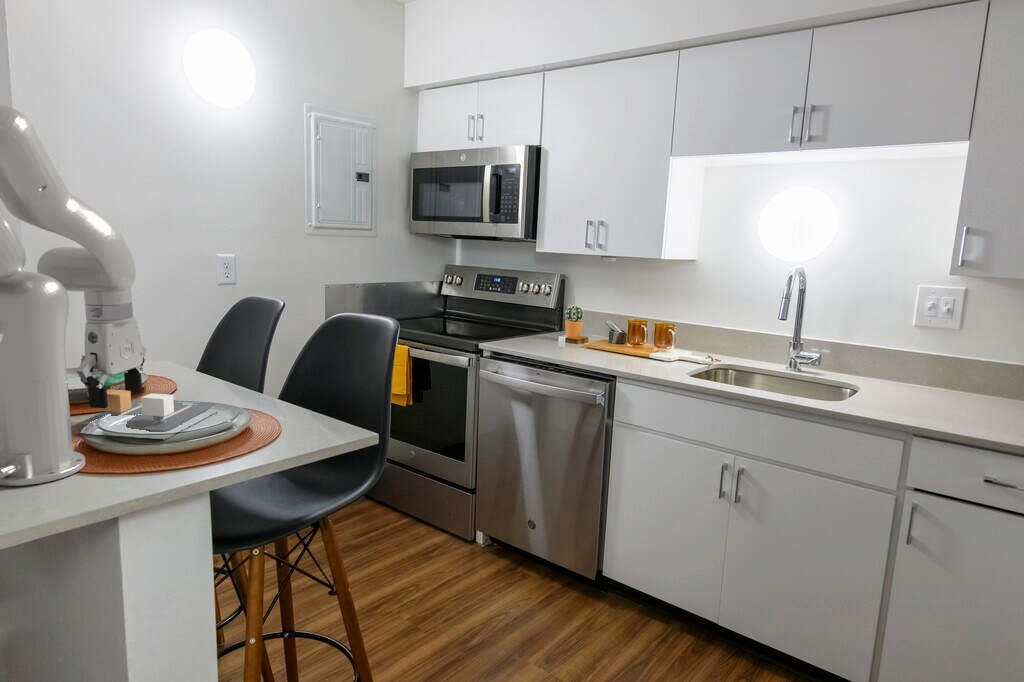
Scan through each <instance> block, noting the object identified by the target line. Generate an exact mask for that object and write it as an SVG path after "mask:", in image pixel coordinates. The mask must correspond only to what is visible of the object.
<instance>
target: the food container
mask: <svg viewBox="0 0 1024 682" xmlns="http://www.w3.org/2000/svg"><path fill="white" fill-rule="evenodd" d="M84 360H85V355H81V358H80V365H81V364H82V363H83V361H84ZM125 372H127V371H125ZM125 372H123V373H120V374H117V375H114V376H109V375H108V376H107V379H106V381H105V383H104V386H103V387H106V390H108V389H112V390H125V379H124V373H125ZM99 377H100V376H96V377H95V379H97V380H98V379H99ZM85 388H86V393H87V400H88V401H89V394H88V388H87V387H85Z"/></svg>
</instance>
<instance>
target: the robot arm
mask: <svg viewBox="0 0 1024 682" xmlns="http://www.w3.org/2000/svg"><path fill="white" fill-rule="evenodd" d="M0 200H1V202H2V203H3V205H4V206H5V208H6V209H7V211H8V212H9V213H10V214H11V216H13V217H15V218H17V219H18V220H20V221H22V222H25V223H26V224H29V225H31V226H33V227H35V228H39V229H41V230H45V231H47V232H50V233H53V234H56V235H59V236H61V237H64V238H67V239H68V240H71V241H73V242H75V243H76V244H78V245H80V246H82V247H71V246H68V247H67V246H61V247H54V248H51V249H48V250H46V251H45V252H44V253H43V254H41V255H40V257H39V259H38V261H37V264H36V265H37V266H36V271H37V272H33V271H23V270H22V269H23V268H24V267H25V265H26V261H27V260H26V259H27V258H26V257H27V255H26V251H25V247H24V244H23V242H22V240H21V239H20V237H19V236H18V234H17V232H16V231H15V229H14V227H13V226H12V224H11V222H10V221H9V220H8V218H7V215H5V213H4V211H3V210H2V208H1V207H0V335H2V339H1V341H0V486H8V487H12V486H13V487H16V486H17V487H22V486H29V485H39V484H44V483H48V482H53V481H56V480H60V479H63V478H66V477H69V476H71V475H73V474H76V473H77V472H79V471H81V470H82V469H83V468H84V467H85V465H86V456H84V454H83V453H80V452H78V451H74V448H73V447H74V446H73V435H72V422H71V411H70V409H71V408H70V397H69V386H68V384H69V383H68V373H67V362H66V331H67V330H66V329H67V324H68V317H69V309H70V299H69V294H68V292H83V299H84V309H85V320H86V322H85V328H84V329H85V330H84V356H85V360H84V361H83V363H82V364H81V363H80V364H79V366H78V367H76V373H77V374H78V375H77V376H79V379H80V382H81V383H82V384H83V385H84V387H85V388H86V387H87V388H88V394H89V400H88V402H89V407H90V408H93V409H99V408H107V407H108V401H107V390H106V387H103V386H104V383H105V381H106V379H107V376H108V375H109V376H114V375H117V374H120V373H123V372H125V371H127V372H125V373H124V379H125V391H130V392H131V394H132V393H134V394H141V393H143V380H142V373H143V371H144V368H143V366H144V363H145V362H146V361H145V357H146V352H147V348H146V347H145V346H142V340H141V335H140V328H139V325H138V321H137V319H136V316H135V315H134V310H133V309H134V308H133V299H132V286H133V284H134V282H135V279H136V276H137V269H136V264H135V260H134V259H133V258H134V257H133V254H132V253H131V251H130V249H129V246H128V245H127V243H126V241H125V238H124V237H123V235H122V233H121V232H120V230H119V229H118V228H117V227H116V226H115V225H114V224H113V223H112V222H111V221H110V220H109V218H107V217H105V216H104V215H103V214H101V213H100V212H99V211H97V210H96V209H95V208H93V207H92V206H90V205H89V204H88V203H87V202H85V201H83V200H82V199H80V198H79V197H77V196H76V195H74V194H73V193H71V192H70V191H69V190H68V188H67V187H66V185H65V183H64V181H63V180H62V177H61V175H60V174H59V172H58V171H57V169H56V166H55V165H54V163H53V161H52V160H51V158H50V155H49V154H48V152H47V150H46V148H45V147H44V145H43V143H42V141H41V140H40V138H39V136H38V133H37V132H36V130H35V129H34V127H33V125H32V124H31V122H30V120H29V119H28V118H27V116H26V115H24V114H23V113H22V112H21V111H19V110H18V109H15V108H13V107H11V106H8V105H3V104H0ZM96 376H100V377H99V379H98V380H97V379H95V377H96ZM87 388H86V389H87Z"/></svg>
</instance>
